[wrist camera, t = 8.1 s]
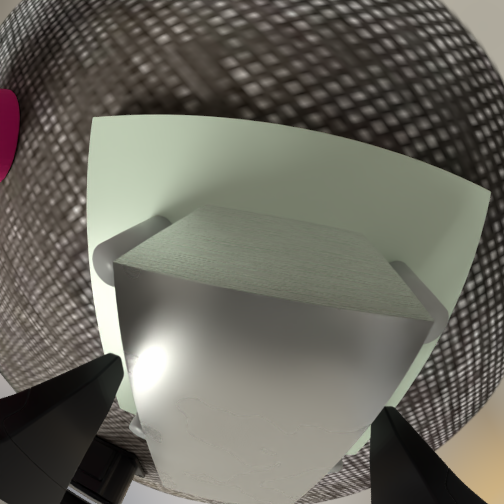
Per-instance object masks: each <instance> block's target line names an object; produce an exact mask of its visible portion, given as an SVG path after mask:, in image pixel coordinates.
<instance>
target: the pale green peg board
mask: <svg viewBox="0 0 504 504" xmlns="http://www.w3.org/2000/svg"><path fill="white" fill-rule="evenodd" d="M490 195H491V191H489V190H487V189H485V188H483V187H481V186H479V185H476V184H474V183H472V182H470V181H468V180H466V179H464V178H461V177H459V176H457V175H454V174H452V173H450V172H447V171H445V170H443V169H440V168H438V167H435V166H433V165H430V164H427V163H425V162H422V161H419V160H417V159H414V158H411V157H408V156H405V155H402V154H399V153H396V152H393V151H390V150H387V149H383V148H380V147H377V146H373V145H370V144H366V143H363V142H359V141H355V140H351V139H348V138H344V137H339V136H335V135H331V134H326V133H322V132H317V131H312V130H307V129H302V128H297V127H291V126H285V125H279V124H273V123H266V122H259V121H251V120H243V119H233V118H222V117H209V116H192V115H122V116H106V117H94V118H93V120H92V128H91V136H90V146H89V158H88V175H87V234H88V251H89V263H90V273H91V282H92V290H93V297H94V304H95V310H96V316H97V321H98V327H99V332H100V336H101V341H102V346H103V350H104V354H107V353H114V354H116V355H119V356H120V357H121V359H122V364H123V369H124V377H123V380H122V382H121V384H120V387H119V389H118V391H117V393H116V397H117V400H118V404H119V407H120V409H122V410H125V411H127V412H130V413H132V414H134V415H135V416H134V418H133V420H132V421H131V423H130V425H129V429H130V430H131V431H132V432H133V433H134V434H135V435H137V436H139V437H141V438H143V439H145V436H144V432H143V429H142V426H141V423H140V419H139V416H138V412H137V409H136V405H135V401H134V397H133V393H132V389H131V385H130V381H129V376H128V372H127V367H126V362H125V357H124V351H123V346H122V340H121V334H120V327H119V320H118V312H117V304H116V295H115V285H114V272H113V262H114V261H115V260H117V259H118V258H120V257H121V256H123V255H124V254H126V253H127V252H129V251H130V250H132V249H133V248H135V247H136V246H138V245H140V244H141V243H143V242H144V241H146V240H147V239H149V238H151V237H152V236H154V235H155V234H157V233H159V232H160V231H162V230H164V229H165V228H167V227H168V226H170V225H172V224H173V223H175V222H177V221H178V220H180V219H182V218H183V217H185V216H187V215H189V214H190V213H192V212H194V211H195V210H197V209H199V208H201V207H202V206H204V205H206V204H207V205H213V206H220V207H226V208H232V209H238V210H244V211H250V212H256V213H262V214H267V215H273V216H278V217H284V218H289V219H294V220H300V221H305V222H310V223H315V224H320V225H325V226H330V227H335V228H340V229H344V230H349V231H354V232H358V233H363V235H364V236H365V237H366V238H367V239H368V240H369V241H370V242H371V243H372V244H373V246H374V247H375V248H376V249H377V250H378V251H379V252H380V253H381V255H382V256H383V257H384V258H385V259H386V260H387V262H388V263H389V264H390V265H391V266H392V267H393V269H394V270H395V271H396V272H397V273H398V275H399V276H400V277H401V278H402V279H403V281H404V282H405V283H406V284H407V286H408V287H409V288H410V289H411V291H412V292H413V293H414V294H415V296H416V297H417V298H418V300H419V301H420V302H421V303H422V305H423V306H424V307H425V309H426V310H427V311H428V313H429V314H430V315H431V317H432V318H433V320H434V321H435V322H434V324H433V326H432V328H431V330H430V332H429V334H428V336H427V338H426V340H425V342H424V344H423V345H422V347H421V349H420V351H419V353H418V355H417V356H416V358H415V360H414V362H413V363H412V365H411V367H410V368H409V370H408V372H407V373H406V375H405V376H404V378H403V380H402V381H401V383H400V384H399V386H398V387H397V389H396V390H395V392H394V393H393V395H392V396H391V398H390V399H389V401H388V402H387V403H386V405H385V406H393V407H396V406H397V404H398V403H399V402H400V400H401V399H402V397H403V396H404V395H405V393H406V392H407V390H408V389H409V387H410V386H411V384H412V383H413V381H414V380H415V378H416V377H417V375H418V374H419V372H420V371H421V369H422V367H423V366H424V364H425V362H426V361H427V359H428V357H429V356H430V354H431V352H432V350H433V349H434V347H435V345H436V343H437V341H438V340H439V338H440V336H441V334H442V333H443V331H444V330H445V328H446V326H447V324H448V320H449V318H450V316H451V314H452V312H453V309H454V307H455V305H456V303H457V300H458V298H459V296H460V293H461V291H462V289H463V286H464V284H465V281H466V278H467V276H468V273H469V270H470V268H471V265H472V262H473V259H474V256H475V253H476V250H477V247H478V243H479V240H480V237H481V233H482V229H483V226H484V222H485V218H486V214H487V209H488V205H489V200H490ZM370 434H371V425H370V426H369V427H368V429H367V430H366V431H365V432H364V434H363V435H362V436H361V437H360V438H359V440H358V441H357V442H356V443H355V444H354V445H353V446H352V448H351V449H350V450H349V451H348V452H347V453H346V454H345V455H355V454H356V453H357V452H358V451H359V450H360V449H361V448H362V447H363V446H364V445H365V444H366V442H367V441H368V440H369V439H370ZM342 468H343V462H342V459H341V460H340V461H339V462H338V463H337V464H336V465H335V466H334V467H333V468H332V469H331V470H330V471H329V472H328V473H327V474H330V473H335V472H338V471H340V470H341V469H342Z"/></svg>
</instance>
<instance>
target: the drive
mask: <svg viewBox="0 0 504 504" xmlns="http://www.w3.org/2000/svg"><path fill="white" fill-rule="evenodd" d="M113 272H114V285H115V295H116V304H117V312H118V320H119V327H120V334H121V340H122V346H123V351H124V357H125V362H126V367H127V372H128V376H129V381H130V385H131V389H132V393H133V397H134V401H135V405H136V409H137V412H138V416H139V419H140V423H141V426H142V429H143V432H144V436H145V439H146V442H147V445H148V448H149V451H150V453H151V456H152V459H153V462H154V464H155V467H156V469H157V472H158V474H159V477H160V479H161V482H162V484H163V486H164V487H167V488H170V489H173V490H176V491H180V492H183V493H187V494H190V495H194V496H198V497H202V498H206V499H210V500H215V501H220V502H225V503H230V504H294V503H295V502H296V501H297V500H299V499H300V498H301V497H302V496H303V495H304V494H306V493H307V492H308V491H309V490H310V489H311V488H312V487H313V486H314V485H316V484H317V483H318V482H319V481H320V480H321V479H322V478H323V477H324V476H325V475H326V474H327V473H328V472H329V471H330V470H331V469H332V468H333V467H334V466H335V465H336V464H337V463H338V462H339V461H340V460H341V459H342V458H343V456H344V455H345V454H346V453H347V452H348V451H349V450H350V449H351V448H352V446H353V445H354V444H355V443H356V442H357V441H358V440H359V438H360V437H361V436H362V435H363V434H364V432H365V431H366V430H367V429H368V427H369V426H370V425H371V424H372V422H373V421H374V420H375V418H376V417H377V416H378V414H379V413H380V412H381V410H382V409H383V408H384V406H385V405H386V403H387V402H388V401H389V399H390V398H391V396H392V395H393V393H394V392H395V390H396V389H397V387H398V386H399V384H400V383H401V381H402V380H403V378H404V376H405V375H406V373H407V372H408V370H409V368H410V367H411V365H412V363H413V362H414V360H415V358H416V356H417V355H418V353H419V351H420V349H421V347H422V345H423V344H424V342H425V340H426V338H427V336H428V334H429V332H430V330H431V328H432V326H433V324H434V322H435V321H434V320H433V318H432V317H431V315H430V314H429V313H428V311H427V310H426V309H425V307H424V306H423V305H422V303H421V302H420V301H419V300H418V298H417V297H416V296H415V294H414V293H413V292H412V291H411V289H410V288H409V287H408V286H407V284H406V283H405V282H404V281H403V279H402V278H401V277H400V276H399V275H398V273H397V272H396V271H395V270H394V269H393V267H392V266H391V265H390V264H389V263H388V262H387V260H386V259H385V258H384V257H383V256H382V255H381V253H380V252H379V251H378V250H377V249H376V248H375V247H374V246H373V244H372V243H371V242H370V241H369V240H368V239H367V238H366V237H365V236H364V235H363V233H358V232H354V231H349V230H344V229H340V228H335V227H330V226H325V225H320V224H315V223H310V222H305V221H300V220H294V219H289V218H284V217H278V216H273V215H267V214H262V213H256V212H250V211H244V210H238V209H232V208H226V207H220V206H213V205H207V204H206V205H204V206H202V207H201V208H199V209H197V210H195V211H194V212H192V213H190V214H189V215H187V216H185V217H183V218H182V219H180V220H178V221H177V222H175V223H173V224H172V225H170V226H168V227H167V228H165V229H164V230H162V231H160V232H159V233H157V234H155V235H154V236H152V237H151V238H149V239H147V240H146V241H144V242H143V243H141V244H140V245H138V246H136V247H135V248H133V249H132V250H130V251H129V252H127V253H126V254H124V255H123V256H121V257H120V258H118V259H117V260H115V261H114V262H113Z"/></svg>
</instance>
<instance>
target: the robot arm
mask: <svg viewBox="0 0 504 504" xmlns="http://www.w3.org/2000/svg"><path fill="white" fill-rule="evenodd" d="M123 377H124V369H123V364H122V359H121V357H120V356H119V355H116V354H114V353H107V354H105V355H103V356H101V357H99V358H96V359H94V360H92V361H90V362H88V363H86V364H83V365H81V366H79V367H77V368H75V369H72V370H70V371H68V372H66V373H63V374H61V375H59V376H57V377H54V378H52V379H50V380H47V381H45V382H43V383H40V384H38V385H36V386H33V387H31V389H30V388H29V389H26V390H24V391H21V392H19V393H16V394H14V395H11V396H8V397H5V398H1V399H0V504H91V503H89V502H87V501H86V500H84V499H82V498H81V497H79V496H77V495H76V494H74V493H73V492H71V491H70V490H68V489H67V487H68V486H70V487H71V488H73V489H74V490H76V491H77V492H79V493H80V494H82V495H84V496H85V497H87V498H88V499H90V500H92V501H94V502H95V503H97V504H121V503H122V501H123V499H124V497H125V495H126V492H127V490H128V488H129V486H130V484H131V482H132V480H133V478H134V475H137V476H139V477H142V478H144V477H145V473H144V471H143V469H142V467H141V465H140V463H139V461H138V459H137V457H136V456H135V455H133V454H131V453H129V452H126V451H124V450H122V449H120V448H117V447H115V446H113V445H111V444H109V443H107V442H105V441H103V440H101V439H99V438H97V437H95V435H96V433H97V431H98V430H99V428H100V426H101V424H102V422H103V421H104V419H105V417H106V415H107V414H108V412H109V410H110V408H111V405H112V403H113V401H114V398H115V396H116V393H117V391H118V389H119V387H120V384H121V382H122V380H123ZM370 478H371V504H487V503H486V502H485V501H484V500H482V499H481V498H480V497H479V496H478V495H476V494H475V493H474V492H473V491H472V490H471V489H470V488H468V487H467V486H466V485H465V484H464V483H463V482H462V481H461V480H460V479H459V478H458V477H457V476H456V475H455V474H454V473H453V472H452V471H451V469H450V468H448V466H447V465H446V464H445V463H444V462H443V461H442V459H441V458H440V457H439V456H438V455H437V454H436V453H435V452H434V451H433V449H432V448H431V447H430V446H429V445H428V444H427V443H426V442H425V441H424V439H423V438H422V437H421V436H420V435H419V434H418V433H417V432H416V431H415V429H414V428H413V427H412V426H411V425H410V424H409V423H408V422H407V421H406V420H405V418H404V417H403V416H402V415H401V414H400V413H399V412H398V411H397V410H396V408H395V407H393V406H384V408H383V409H382V410H381V412H380V413H379V414H378V416H377V417H376V418H375V420H374V421H373V422H372V424H371V434H370Z"/></svg>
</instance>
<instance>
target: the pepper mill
mask: <svg viewBox="0 0 504 504" xmlns="http://www.w3.org/2000/svg"><path fill="white" fill-rule="evenodd" d="M19 124H20V113H19V103H18V100H17V97H16V95H15V94H14V93H13V91H11V90H9V89H0V182H1V181H2V180H3V179H4V178H5V177H6V175H7V173H8V171H9V169H10V167H11V165H12V162H13V159H14V155H15V151H16V147H17V141H18V135H19Z"/></svg>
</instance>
